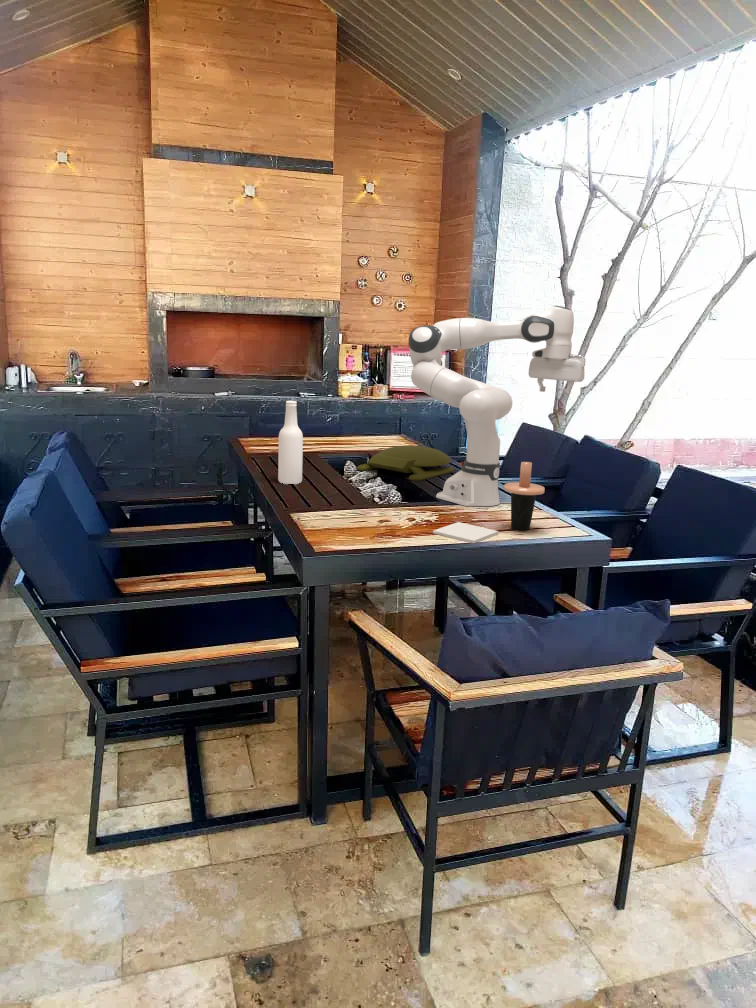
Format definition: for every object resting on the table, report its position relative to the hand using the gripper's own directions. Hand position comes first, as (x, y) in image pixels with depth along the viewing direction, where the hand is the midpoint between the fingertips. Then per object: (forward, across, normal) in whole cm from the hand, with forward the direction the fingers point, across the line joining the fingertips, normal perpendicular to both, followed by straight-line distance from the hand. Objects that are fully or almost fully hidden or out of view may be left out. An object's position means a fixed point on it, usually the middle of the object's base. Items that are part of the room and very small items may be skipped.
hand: (554, 392), depth 273 cm
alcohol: (+37, +75, +57) cm, 101 cm away
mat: (+37, -8, +68) cm, 78 cm away
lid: (+25, -17, +51) cm, 59 cm away
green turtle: (+38, +60, +3) cm, 70 cm away
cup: (+37, -17, +51) cm, 65 cm away
